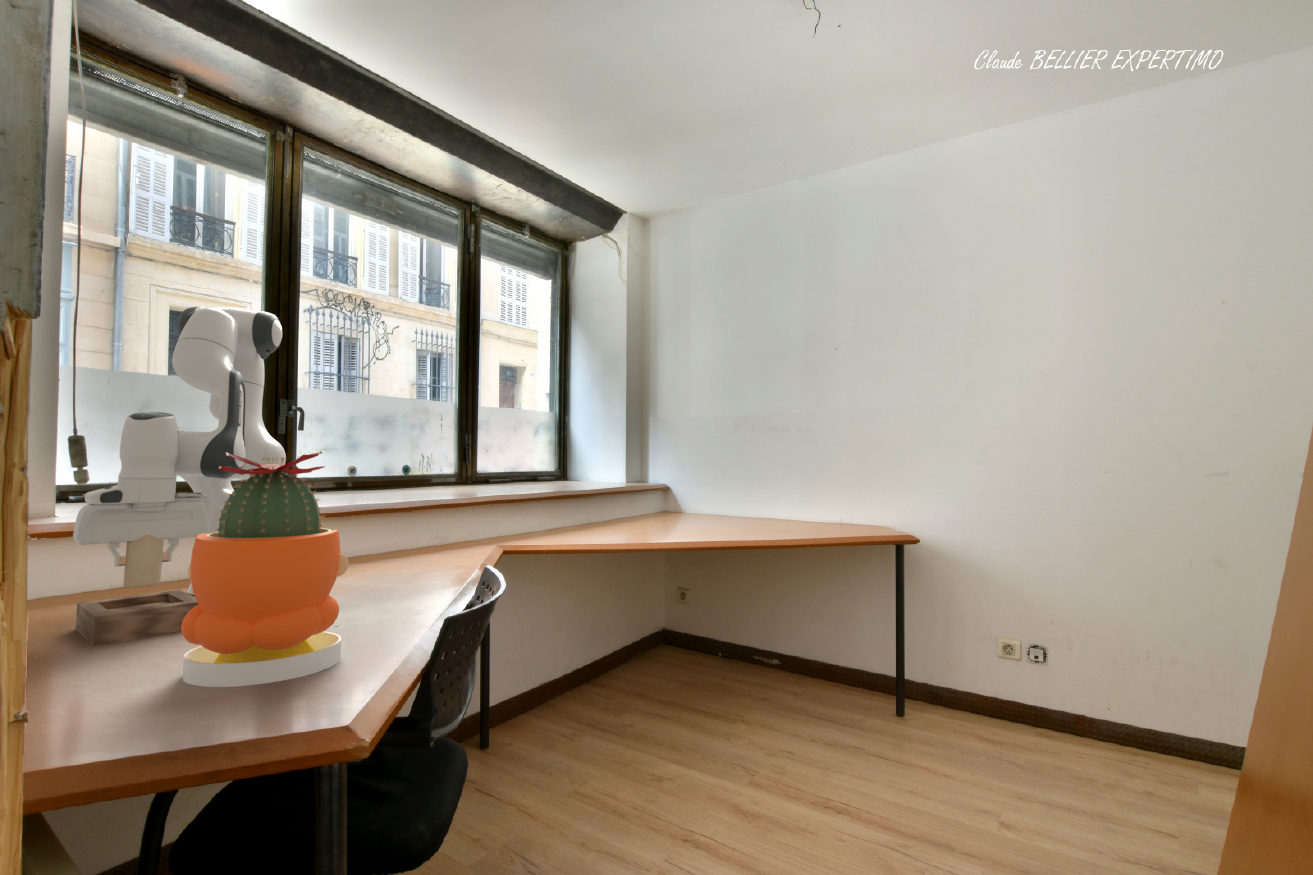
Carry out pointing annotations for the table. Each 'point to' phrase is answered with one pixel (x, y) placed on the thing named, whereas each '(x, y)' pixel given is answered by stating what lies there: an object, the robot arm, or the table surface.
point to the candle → (143, 562)
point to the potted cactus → (264, 584)
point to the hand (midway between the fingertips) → (143, 563)
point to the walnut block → (133, 616)
